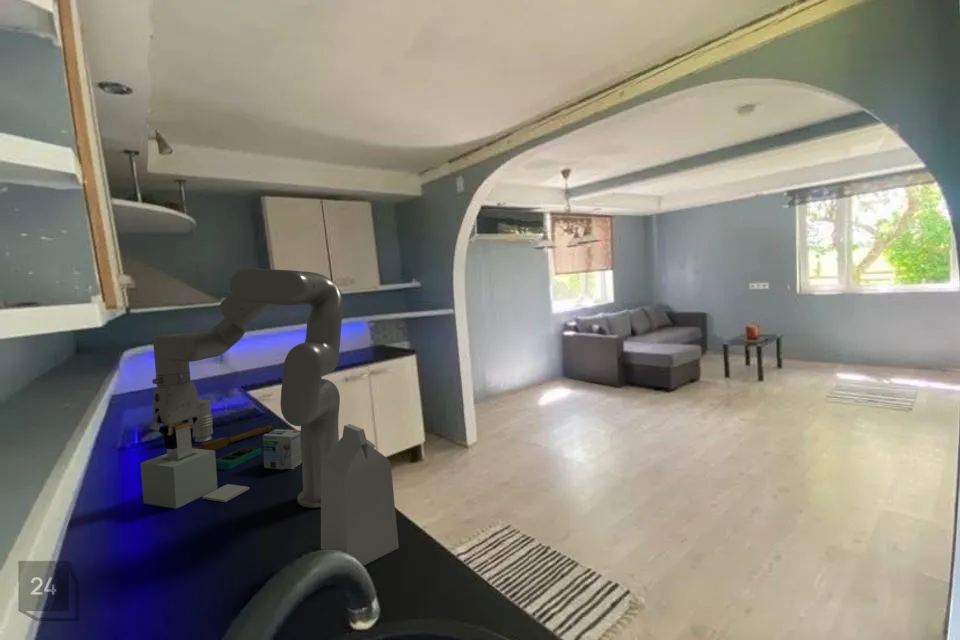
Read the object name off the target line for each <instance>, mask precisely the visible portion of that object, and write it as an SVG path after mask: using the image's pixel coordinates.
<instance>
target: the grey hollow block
mask: <svg viewBox="0 0 960 640" xmlns="http://www.w3.org/2000/svg"><path fill="white" fill-rule="evenodd" d="M216 459H217V458H216V450H204V449H194V448H193V447H192V455H191V456H188V457H185V458H183V459H180V460H171V459H168V458H167V453H165V454H162V455H159V456H156V457H153V458H150V459H148V460H145V461H142V462H140V473H141V487H142V499H143V504H145V505H152V506H159V507H165V508H168V509H169V508H170V509H175V510H176V509H178V508H181V507H183V506H185V505H187V504H189V503H191V502H194V501H195V500H198V499H199V498H202V496H204V495H206V494H208V493H210V492H212V491H214V490H217V489H219V488H218V476H217V475H218V474H217V469H216Z"/></svg>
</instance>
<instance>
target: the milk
mask: <svg viewBox="0 0 960 640" xmlns="http://www.w3.org/2000/svg"><path fill="white" fill-rule="evenodd" d="M375 448H376V445H375V444H374V443H373V442H372V441H370V440H368V439H367V436H366V433H365V430H364V429H363V428H361V427H359V426H356V425H353V424H345V425H344V426H343V430H342V437H341V438H340V439H339V441H338V443H337V444H336V445H335V446H334V447H333V449H332V450H331V451H330V452H329V453H328V454H327V456H326V457H325V458H324V460H323V462H322V465H321V507H320V549H321V550H322V549H339V550H342V551H345V552H347V553H349V554H351V555H352V556H354V557H355V558H357V559H358V560H359V561H360V562H361V563H362V564H363V565H364V566H366V565H368V564H371V563H372V562H374V561H376V560H379V559H380V558H382V557H384V556H386V555H388V554H389V553H392V552H394V551H395V550H397V549H399V548H400V545H399V538H398V537H399V536H398V535H399V534H398V526H397V515H396V514H397V513H396V506H395V505H396V504H395V493H394V492H395V491H394V486H393V485H394V484H393V483H394V482H393V474H392V466H391V462H390V460H389V459H388V458H387V457H386V456H385V455H384V454H382V453H381V452H380V451H378V450H377V449H375Z"/></svg>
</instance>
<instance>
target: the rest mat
mask: <svg viewBox="0 0 960 640" xmlns="http://www.w3.org/2000/svg"><path fill="white" fill-rule="evenodd" d="M248 490H250V486H244V485H237V484H229V483H226V484H224V485H223V486H221V487H219V488H218V489H216V490H214V491H212V492H210V493H208V494H205V495H203V496H201V499H202V500H208V501H209V500H210V501H215V502H222V503H226V502H228V501H231V500H232V499H234V498H235V497H238V496H239V495H241V494H244V493H245V492H247V491H248Z"/></svg>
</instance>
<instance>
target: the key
mask: <svg viewBox="0 0 960 640" xmlns="http://www.w3.org/2000/svg"><path fill="white" fill-rule="evenodd" d="M190 426H191V425H190V422H177V423H174V425H173V434H175V441H176V448H175V449H166V454H167V458H168V459H171V460H180V459H183V458H185V457H188V456H191V455H192V448H193V445H192V443H191V432H190ZM167 428H168V425H167Z"/></svg>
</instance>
